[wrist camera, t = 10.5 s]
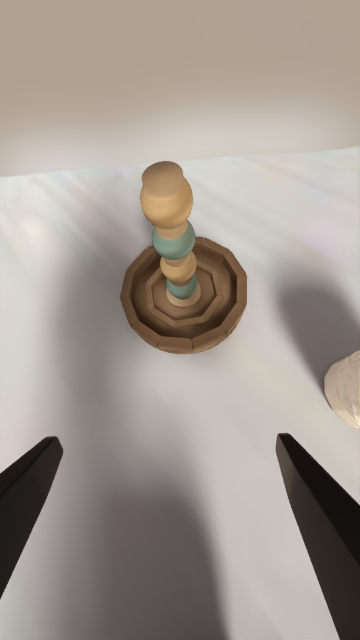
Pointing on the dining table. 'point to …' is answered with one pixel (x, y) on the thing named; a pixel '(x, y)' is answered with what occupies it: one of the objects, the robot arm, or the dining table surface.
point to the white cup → (345, 388)
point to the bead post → (172, 229)
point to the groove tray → (193, 322)
